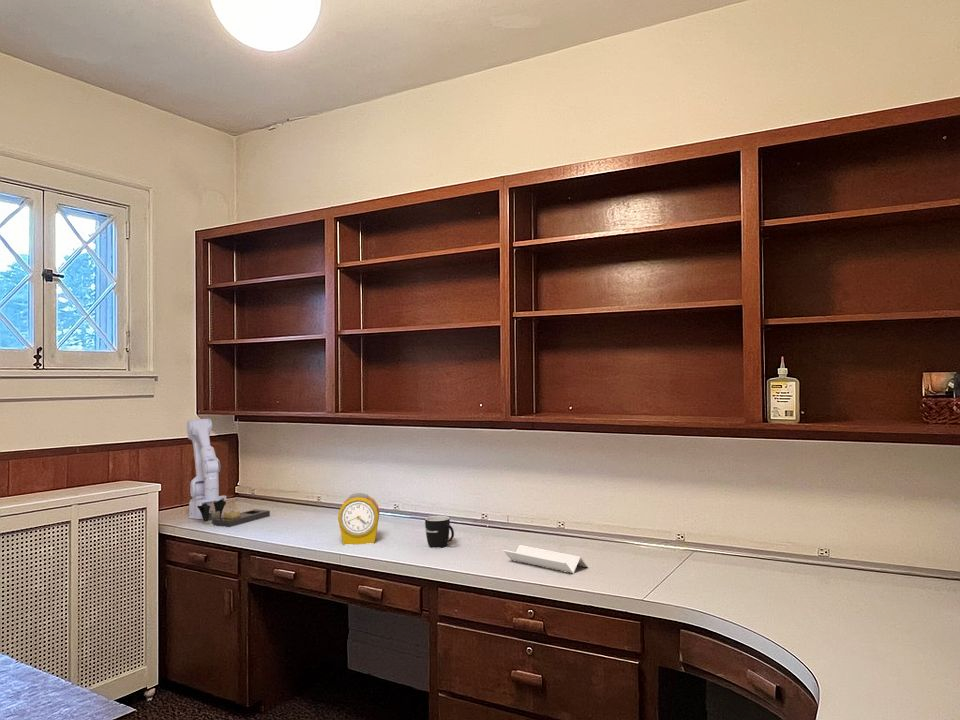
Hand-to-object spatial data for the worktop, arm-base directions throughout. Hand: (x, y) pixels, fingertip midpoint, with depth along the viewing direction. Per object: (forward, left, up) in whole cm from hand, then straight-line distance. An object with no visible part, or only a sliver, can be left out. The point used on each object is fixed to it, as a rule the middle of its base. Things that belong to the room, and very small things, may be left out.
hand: (212, 519), depth 316 cm
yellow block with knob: (+8, +3, -2) cm, 9 cm away
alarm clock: (+80, -3, -2) cm, 80 cm away
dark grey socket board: (+8, +9, -1) cm, 12 cm away
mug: (+112, +3, -2) cm, 112 cm away
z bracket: (+156, -5, -2) cm, 156 cm away
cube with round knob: (0, 0, -2) cm, 2 cm away
